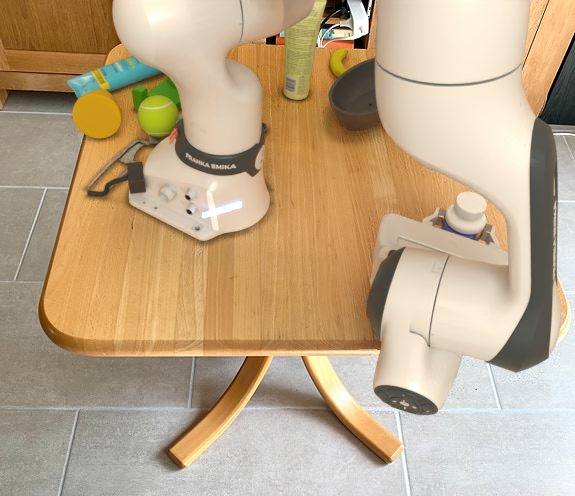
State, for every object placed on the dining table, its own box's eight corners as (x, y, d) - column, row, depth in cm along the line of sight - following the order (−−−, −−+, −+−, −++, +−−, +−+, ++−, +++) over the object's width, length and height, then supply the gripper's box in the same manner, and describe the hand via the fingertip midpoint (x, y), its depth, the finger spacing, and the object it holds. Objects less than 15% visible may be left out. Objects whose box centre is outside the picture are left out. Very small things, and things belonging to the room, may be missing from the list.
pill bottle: (471, 268, 85) (493, 220, 77) (432, 261, 85) (450, 212, 78) (471, 240, 88) (493, 191, 81) (434, 233, 89) (452, 184, 81)
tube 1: (172, 52, 115) (74, 89, 110) (178, 75, 119) (83, 112, 114) (157, 37, 120) (63, 72, 115) (163, 60, 124) (72, 94, 118)
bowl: (426, 99, 119) (433, 71, 115) (361, 154, 108) (367, 125, 103) (375, 74, 124) (380, 46, 119) (307, 124, 112) (310, 95, 108)
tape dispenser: (184, 71, 121) (182, 50, 118) (213, 83, 119) (212, 62, 116) (133, 108, 113) (129, 87, 109) (163, 123, 110) (161, 101, 107)
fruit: (330, 82, 122) (355, 84, 122) (331, 73, 120) (357, 74, 120) (327, 54, 128) (351, 55, 129) (329, 45, 127) (353, 46, 127)
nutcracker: (84, 189, 99) (110, 200, 98) (83, 185, 98) (109, 197, 97) (140, 133, 109) (164, 142, 108) (139, 129, 108) (164, 139, 107)
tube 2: (300, 81, 121) (308, -15, 107) (316, 94, 119) (327, -2, 104) (277, 90, 119) (282, -7, 104) (293, 104, 116) (300, 6, 102)
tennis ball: (127, 100, 101) (146, 89, 107) (133, 140, 105) (151, 128, 111) (166, 102, 100) (183, 91, 106) (170, 144, 103) (187, 131, 109)
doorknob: (120, 96, 103) (70, 92, 101) (121, 140, 107) (73, 137, 106) (124, 80, 109) (77, 77, 108) (125, 122, 113) (79, 120, 112)
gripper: (535, 310, 70) (550, 229, 79) (365, 249, 74) (397, 179, 83) (516, 339, 75) (532, 260, 83) (358, 281, 79) (389, 211, 88)
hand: (464, 219), depth 83 cm, fingers closed on pill bottle, 5 cm apart
